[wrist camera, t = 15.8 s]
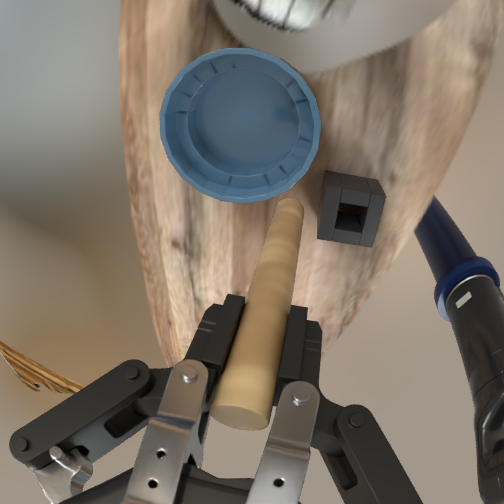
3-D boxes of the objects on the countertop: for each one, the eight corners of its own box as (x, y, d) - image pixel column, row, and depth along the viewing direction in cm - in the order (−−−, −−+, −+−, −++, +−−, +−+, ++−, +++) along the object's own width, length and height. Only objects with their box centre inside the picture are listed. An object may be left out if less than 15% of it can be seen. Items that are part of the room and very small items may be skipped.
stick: (305, 199, 20) (272, 413, 8) (302, 225, 21) (266, 435, 9) (276, 195, 20) (206, 399, 8) (274, 221, 22) (210, 423, 9)
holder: (378, 179, 31) (386, 195, 28) (366, 227, 35) (372, 247, 31) (325, 170, 32) (326, 185, 28) (317, 219, 36) (317, 239, 32)
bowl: (325, 57, 25) (328, 55, 21) (310, 190, 34) (309, 212, 29) (181, 52, 27) (158, 52, 23) (183, 176, 36) (164, 195, 31)
